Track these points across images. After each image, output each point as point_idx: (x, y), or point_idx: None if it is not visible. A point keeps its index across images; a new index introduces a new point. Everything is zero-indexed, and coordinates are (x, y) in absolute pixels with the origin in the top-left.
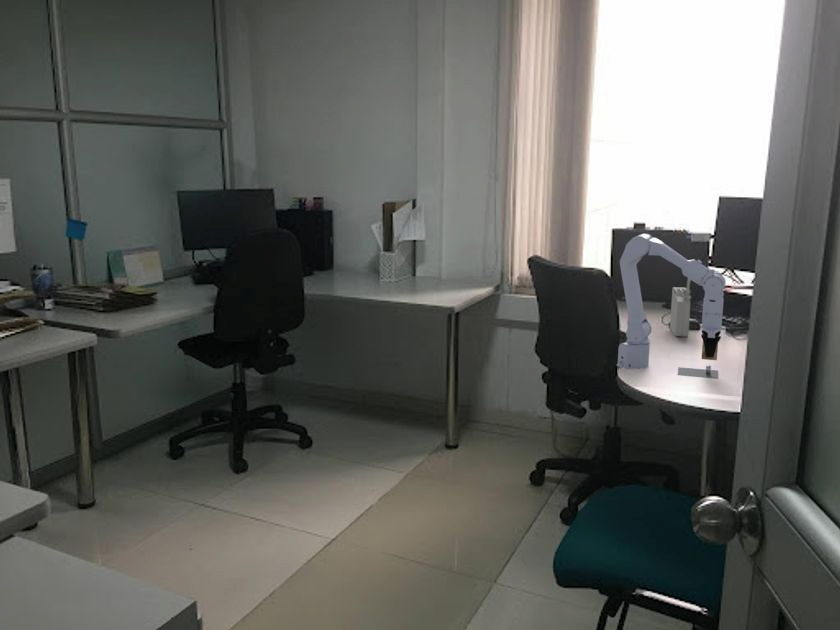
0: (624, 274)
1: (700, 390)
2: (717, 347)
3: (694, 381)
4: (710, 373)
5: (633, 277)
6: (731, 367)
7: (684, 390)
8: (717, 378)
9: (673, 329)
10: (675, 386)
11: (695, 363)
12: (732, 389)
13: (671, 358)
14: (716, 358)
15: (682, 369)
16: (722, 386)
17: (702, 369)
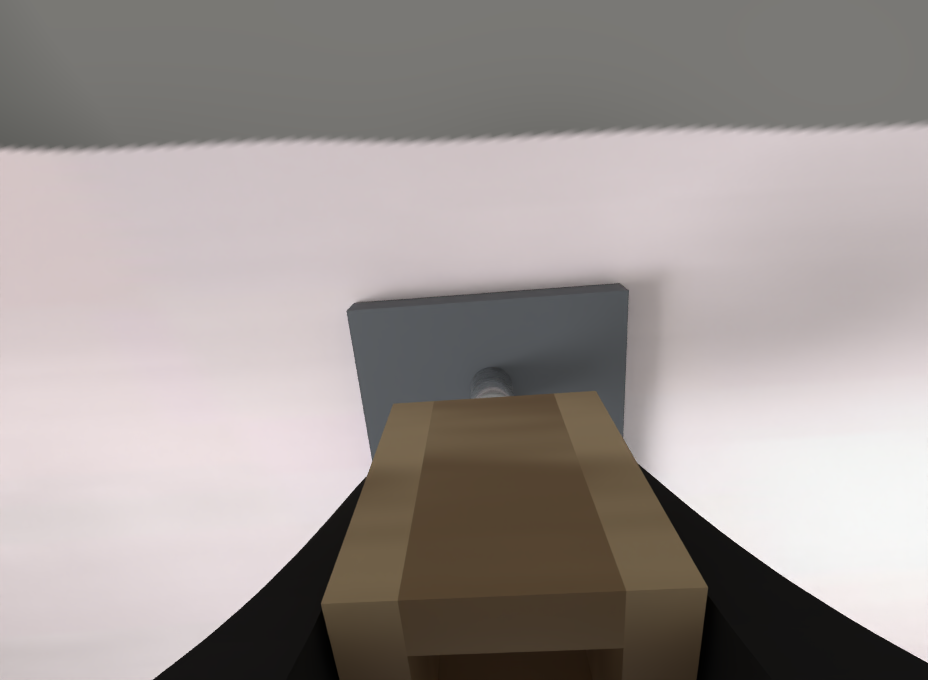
0: None
1: (907, 398)
2: (672, 534)
3: (662, 455)
4: (476, 367)
5: None
6: (67, 194)
7: (920, 498)
8: (624, 299)
9: None
10: (826, 555)
11: (139, 484)
12: (840, 140)
13: (112, 630)
14: (600, 408)
15: None
16: (756, 238)
17: (375, 436)
